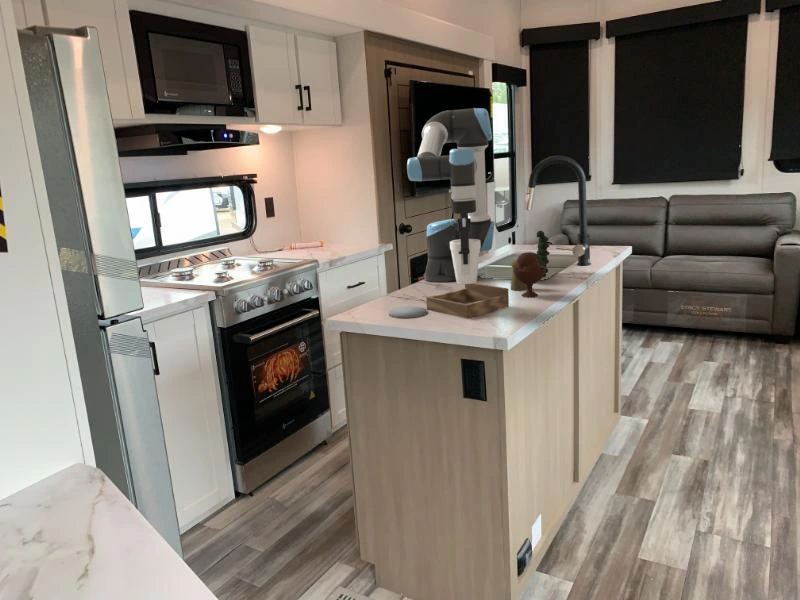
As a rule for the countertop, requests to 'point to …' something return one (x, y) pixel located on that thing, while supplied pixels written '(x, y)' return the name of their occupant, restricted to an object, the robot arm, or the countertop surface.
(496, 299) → the frame
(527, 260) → the ice cream bowl
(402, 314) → the rubber mat
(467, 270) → the robot arm
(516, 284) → the cork
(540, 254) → the toy figurine
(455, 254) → the foam cup
